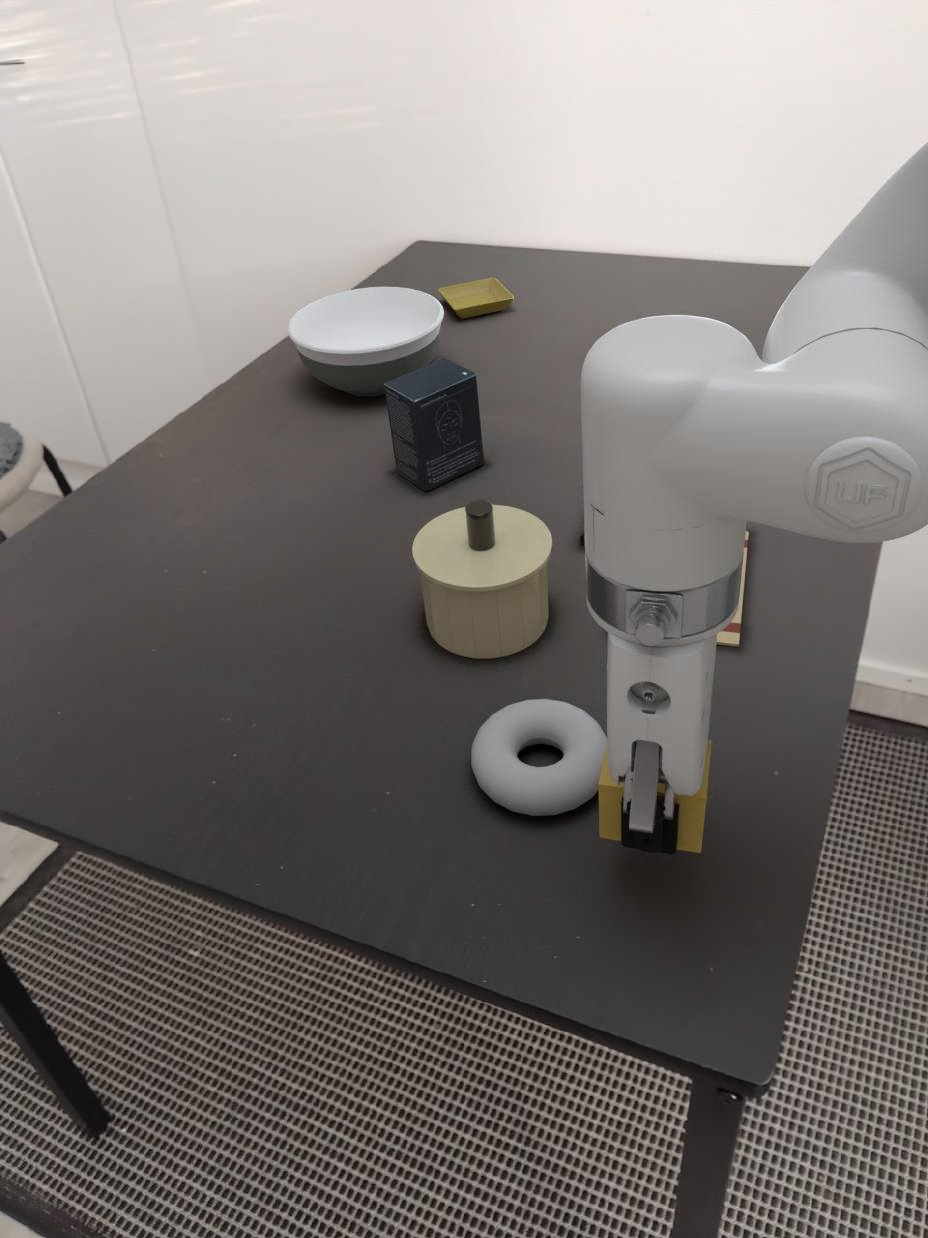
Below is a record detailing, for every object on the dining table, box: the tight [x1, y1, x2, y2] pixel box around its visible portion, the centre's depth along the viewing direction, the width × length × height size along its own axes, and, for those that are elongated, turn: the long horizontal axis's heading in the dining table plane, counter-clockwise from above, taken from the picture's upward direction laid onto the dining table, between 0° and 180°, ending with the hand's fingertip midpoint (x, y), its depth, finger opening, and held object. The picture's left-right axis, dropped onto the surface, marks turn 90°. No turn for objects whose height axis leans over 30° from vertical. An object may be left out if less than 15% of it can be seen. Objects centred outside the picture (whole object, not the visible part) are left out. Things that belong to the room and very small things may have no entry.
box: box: [384, 357, 485, 492], centre depth 100 cm, size 8×6×11 cm
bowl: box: [287, 286, 445, 397], centre depth 119 cm, size 19×19×8 cm
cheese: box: [598, 739, 713, 854], centre depth 58 cm, size 6×4×5 cm
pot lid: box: [411, 499, 553, 592], centre depth 79 cm, size 11×11×5 cm
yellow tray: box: [437, 277, 515, 319], centre depth 135 cm, size 9×9×2 cm
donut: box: [470, 698, 607, 817], centre depth 70 cm, size 10×4×10 cm
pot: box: [419, 562, 550, 660], centre depth 82 cm, size 10×10×7 cm
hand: (654, 810), depth 60 cm, fingers closed on cheese, 4 cm apart
